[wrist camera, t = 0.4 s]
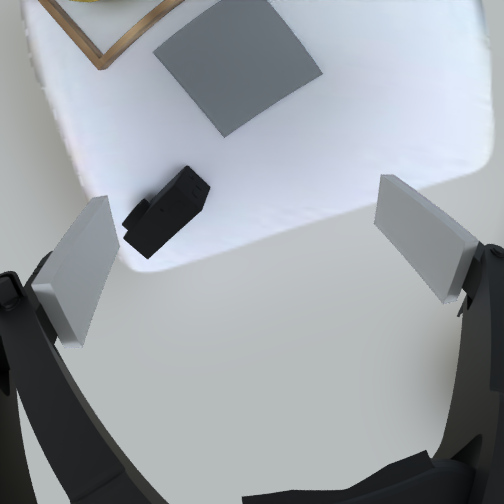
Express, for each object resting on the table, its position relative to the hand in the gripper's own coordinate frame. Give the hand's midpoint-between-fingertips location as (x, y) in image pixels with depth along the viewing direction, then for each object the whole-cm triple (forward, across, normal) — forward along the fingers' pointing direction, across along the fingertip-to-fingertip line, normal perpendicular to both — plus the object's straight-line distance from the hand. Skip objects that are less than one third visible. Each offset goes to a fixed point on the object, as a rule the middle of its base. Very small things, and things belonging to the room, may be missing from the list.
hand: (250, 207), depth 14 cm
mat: (+25, +2, +8) cm, 26 cm away
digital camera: (+27, -8, -10) cm, 30 cm away
